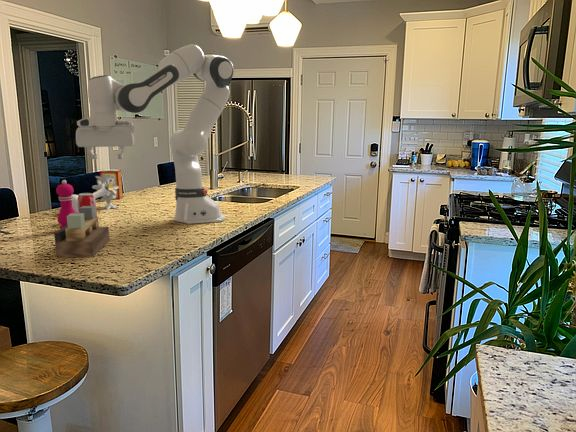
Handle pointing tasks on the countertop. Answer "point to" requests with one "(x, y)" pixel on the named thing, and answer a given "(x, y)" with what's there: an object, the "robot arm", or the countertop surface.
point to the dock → (81, 243)
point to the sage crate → (76, 220)
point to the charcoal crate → (88, 212)
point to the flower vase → (101, 192)
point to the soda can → (86, 200)
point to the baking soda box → (118, 181)
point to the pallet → (82, 230)
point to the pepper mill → (65, 202)
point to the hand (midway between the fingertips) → (107, 158)
